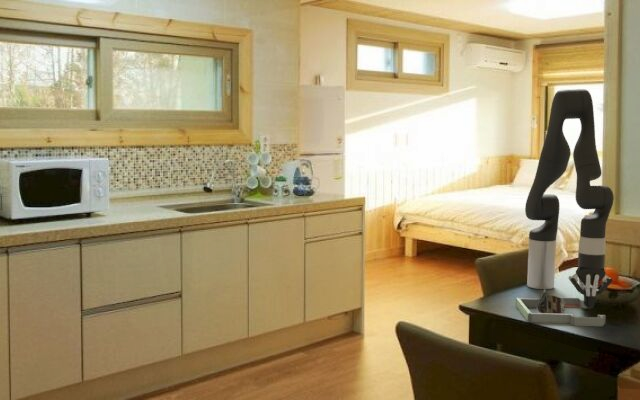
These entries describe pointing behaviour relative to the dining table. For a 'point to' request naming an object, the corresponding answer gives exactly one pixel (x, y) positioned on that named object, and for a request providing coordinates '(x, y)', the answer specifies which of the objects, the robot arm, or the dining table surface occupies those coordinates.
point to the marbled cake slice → (550, 304)
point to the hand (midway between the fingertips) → (588, 307)
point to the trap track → (558, 318)
